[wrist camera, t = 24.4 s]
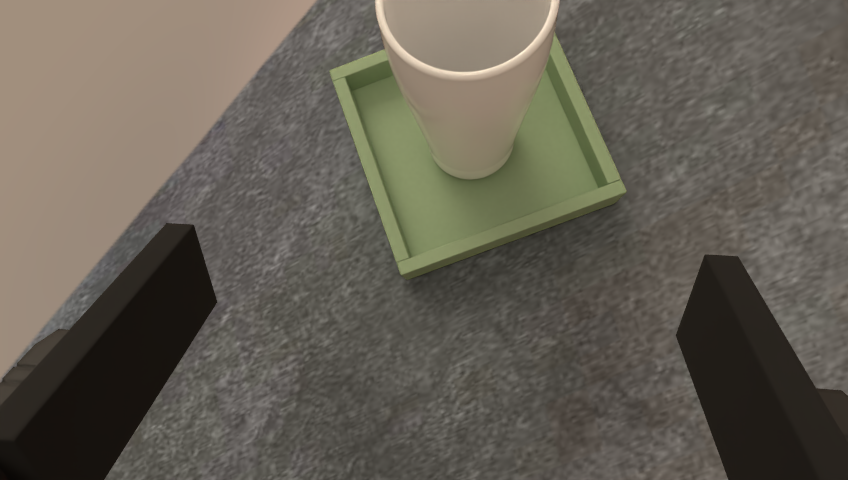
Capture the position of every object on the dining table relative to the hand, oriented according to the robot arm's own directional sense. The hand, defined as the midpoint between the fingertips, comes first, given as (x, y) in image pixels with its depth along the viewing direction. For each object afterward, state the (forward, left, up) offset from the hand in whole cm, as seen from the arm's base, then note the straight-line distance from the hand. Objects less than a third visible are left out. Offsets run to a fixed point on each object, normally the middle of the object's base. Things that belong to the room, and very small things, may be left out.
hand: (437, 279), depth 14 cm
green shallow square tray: (-10, +4, -19) cm, 22 cm away
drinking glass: (-10, +4, -18) cm, 21 cm away
